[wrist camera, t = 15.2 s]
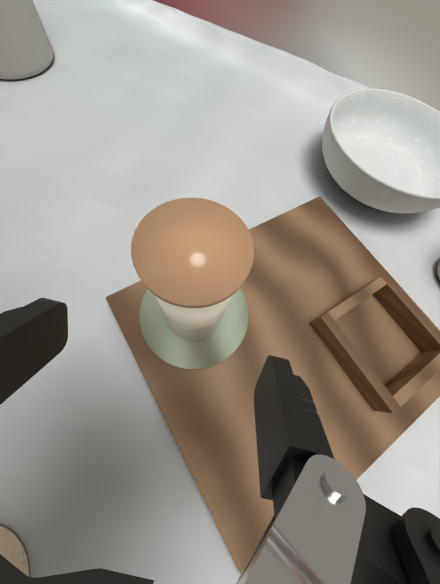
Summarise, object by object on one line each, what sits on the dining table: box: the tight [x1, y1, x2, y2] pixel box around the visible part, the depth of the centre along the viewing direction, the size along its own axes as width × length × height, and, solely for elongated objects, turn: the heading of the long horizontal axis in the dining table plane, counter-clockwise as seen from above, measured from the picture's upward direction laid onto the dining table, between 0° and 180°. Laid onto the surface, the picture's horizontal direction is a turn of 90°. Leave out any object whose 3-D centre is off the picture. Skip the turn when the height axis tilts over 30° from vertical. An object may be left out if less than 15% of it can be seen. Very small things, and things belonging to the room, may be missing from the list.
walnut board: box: [106, 197, 440, 574], centre depth 24 cm, size 30×26×4 cm
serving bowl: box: [322, 89, 440, 213], centre depth 34 cm, size 21×21×7 cm
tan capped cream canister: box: [131, 198, 254, 342], centre depth 18 cm, size 8×6×13 cm
